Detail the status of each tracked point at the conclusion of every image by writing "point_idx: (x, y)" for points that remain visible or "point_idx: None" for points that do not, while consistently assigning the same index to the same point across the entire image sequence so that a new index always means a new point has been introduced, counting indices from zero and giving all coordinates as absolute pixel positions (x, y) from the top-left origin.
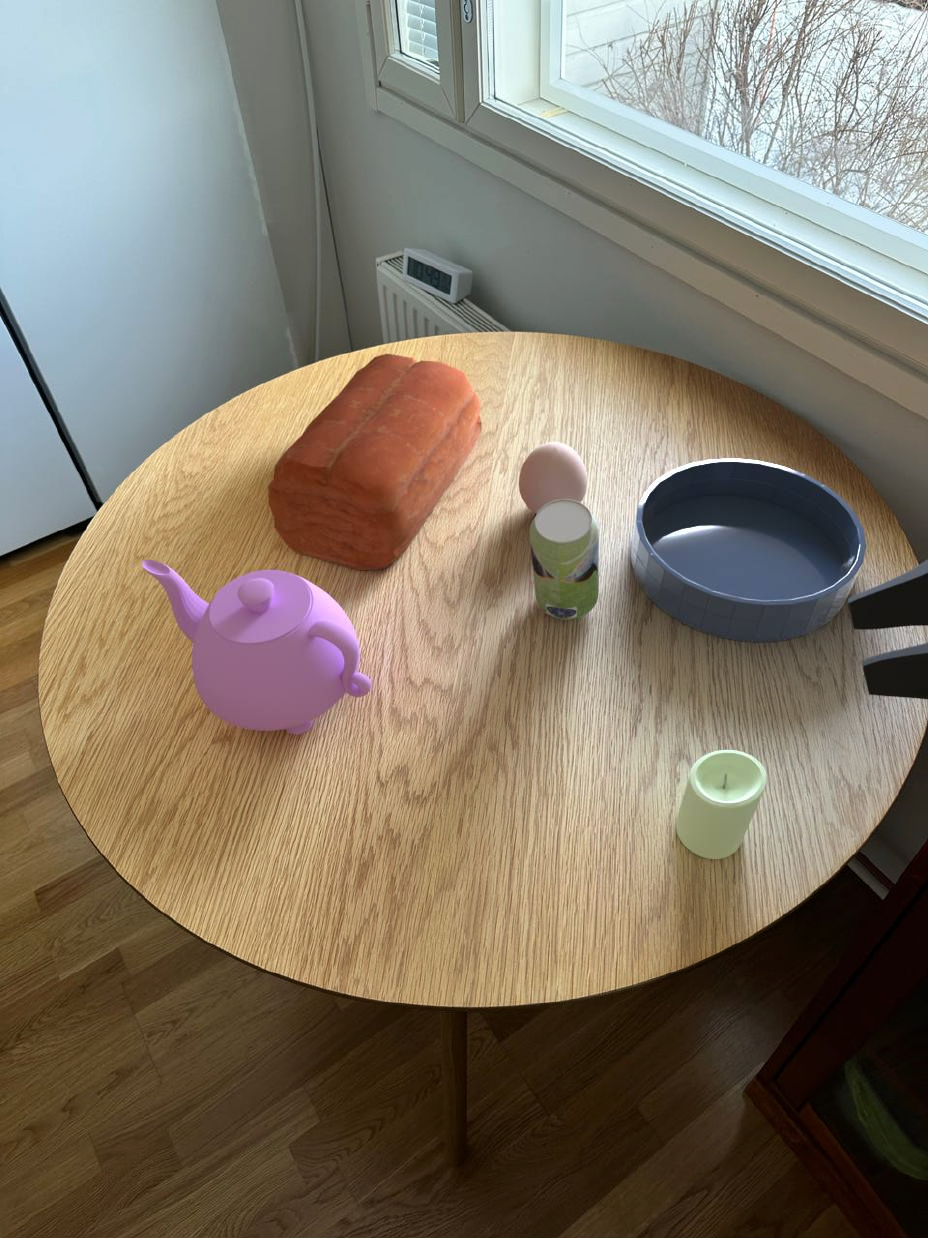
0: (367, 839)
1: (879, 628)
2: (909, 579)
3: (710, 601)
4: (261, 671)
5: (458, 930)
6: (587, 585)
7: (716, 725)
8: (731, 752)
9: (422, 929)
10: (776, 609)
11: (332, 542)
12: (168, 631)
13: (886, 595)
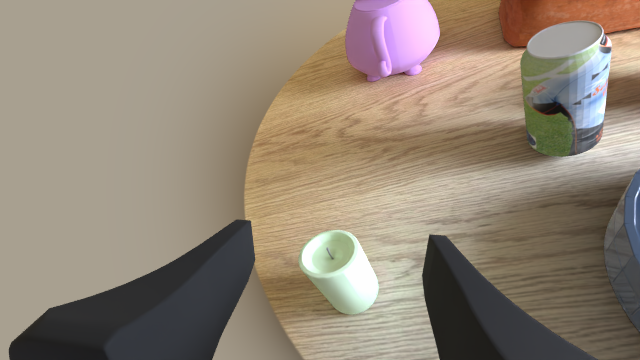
0: (315, 126)
1: (428, 311)
2: (469, 297)
3: (620, 232)
4: (350, 25)
5: (274, 174)
6: (546, 122)
7: None
8: (354, 251)
9: (274, 162)
10: None
11: (504, 10)
12: None
13: (444, 277)
